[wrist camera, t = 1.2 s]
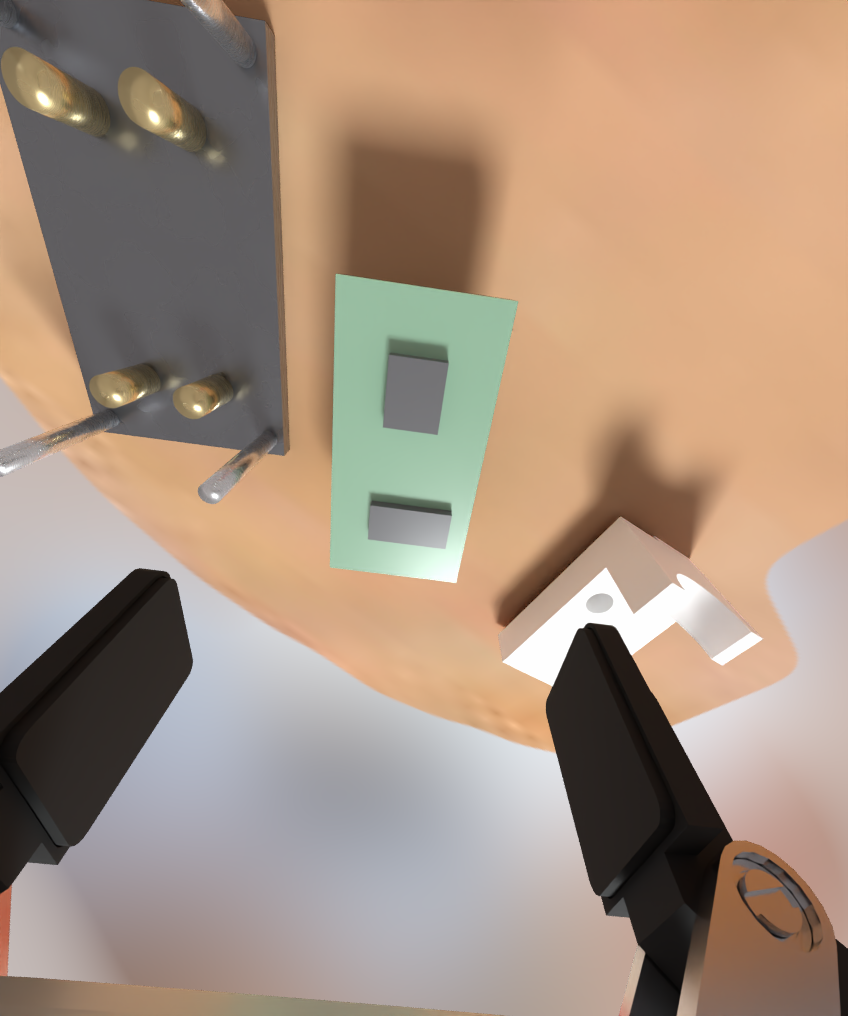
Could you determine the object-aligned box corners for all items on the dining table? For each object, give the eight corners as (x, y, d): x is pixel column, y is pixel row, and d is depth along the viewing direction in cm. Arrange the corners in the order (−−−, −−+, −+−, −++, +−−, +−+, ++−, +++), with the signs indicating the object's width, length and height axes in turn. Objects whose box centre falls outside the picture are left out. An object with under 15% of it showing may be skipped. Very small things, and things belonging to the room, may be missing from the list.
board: (346, 274, 17) (332, 273, 14) (509, 299, 17) (520, 302, 15) (337, 546, 24) (327, 574, 21) (454, 560, 24) (456, 590, 22)
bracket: (614, 509, 27) (672, 582, 20) (687, 556, 28) (762, 638, 22) (496, 625, 32) (511, 713, 26) (563, 659, 34) (593, 750, 27)
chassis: (-7, -14, 16) (-360, -251, 9) (274, 35, 16) (150, -154, 9) (110, 425, 25) (-20, 482, 18) (289, 449, 25) (232, 513, 18)
